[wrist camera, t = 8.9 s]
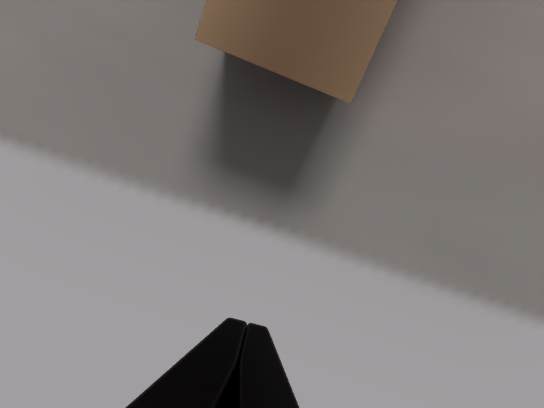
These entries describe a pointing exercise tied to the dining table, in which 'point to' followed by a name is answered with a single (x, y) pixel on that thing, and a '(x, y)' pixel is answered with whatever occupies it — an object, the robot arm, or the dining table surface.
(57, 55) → the dining table surface
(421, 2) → the dining table surface
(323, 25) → the block
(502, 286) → the dining table surface
